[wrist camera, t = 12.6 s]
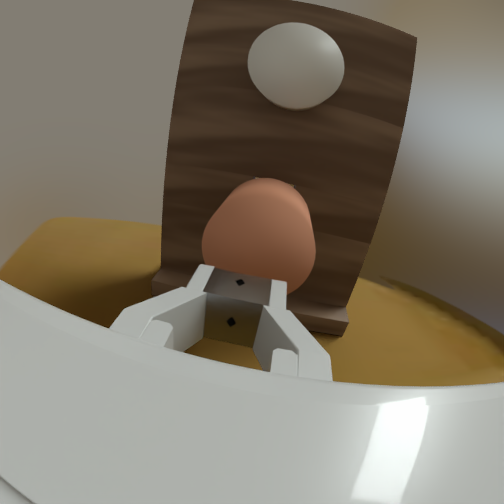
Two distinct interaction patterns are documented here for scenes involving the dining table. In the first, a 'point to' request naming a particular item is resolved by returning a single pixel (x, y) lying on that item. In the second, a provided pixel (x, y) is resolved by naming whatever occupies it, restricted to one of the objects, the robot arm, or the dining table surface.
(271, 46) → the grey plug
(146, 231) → the dining table surface
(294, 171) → the plug panel
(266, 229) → the terracotta plug
